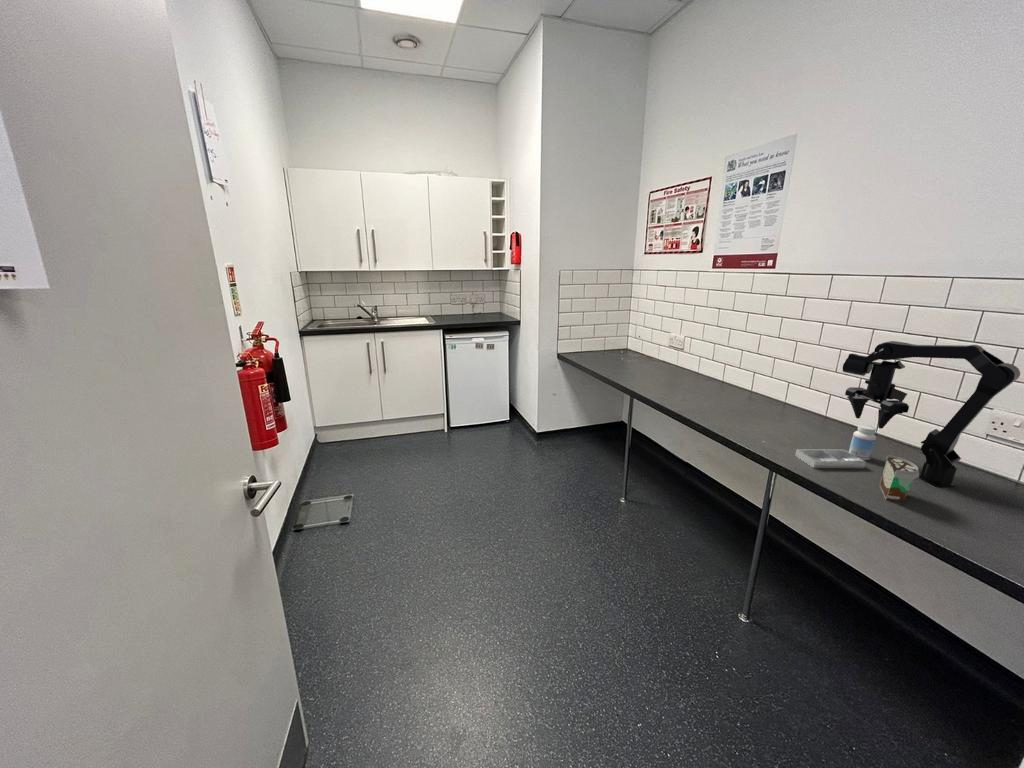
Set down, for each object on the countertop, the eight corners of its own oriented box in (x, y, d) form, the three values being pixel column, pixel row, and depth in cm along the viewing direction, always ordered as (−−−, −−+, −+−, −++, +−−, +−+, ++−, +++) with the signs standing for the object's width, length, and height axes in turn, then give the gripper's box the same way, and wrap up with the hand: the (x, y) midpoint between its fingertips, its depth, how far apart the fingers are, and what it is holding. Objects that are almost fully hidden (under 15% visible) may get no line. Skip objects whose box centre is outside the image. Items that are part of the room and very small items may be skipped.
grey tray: (863, 468, 137) (865, 461, 136) (813, 468, 136) (815, 461, 136) (842, 455, 146) (844, 449, 145) (795, 455, 145) (796, 449, 144)
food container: (915, 509, 114) (926, 476, 112) (886, 502, 118) (896, 470, 115) (905, 489, 124) (914, 459, 122) (878, 483, 128) (887, 454, 125)
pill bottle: (874, 461, 142) (883, 431, 139) (854, 459, 143) (862, 429, 140) (863, 453, 148) (872, 424, 144) (844, 452, 149) (852, 422, 145)
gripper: (932, 387, 128) (918, 434, 133) (880, 372, 146) (869, 413, 151) (897, 387, 128) (883, 434, 133) (849, 371, 146) (838, 413, 151)
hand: (868, 423), depth 142 cm, fingers open, 9 cm apart
